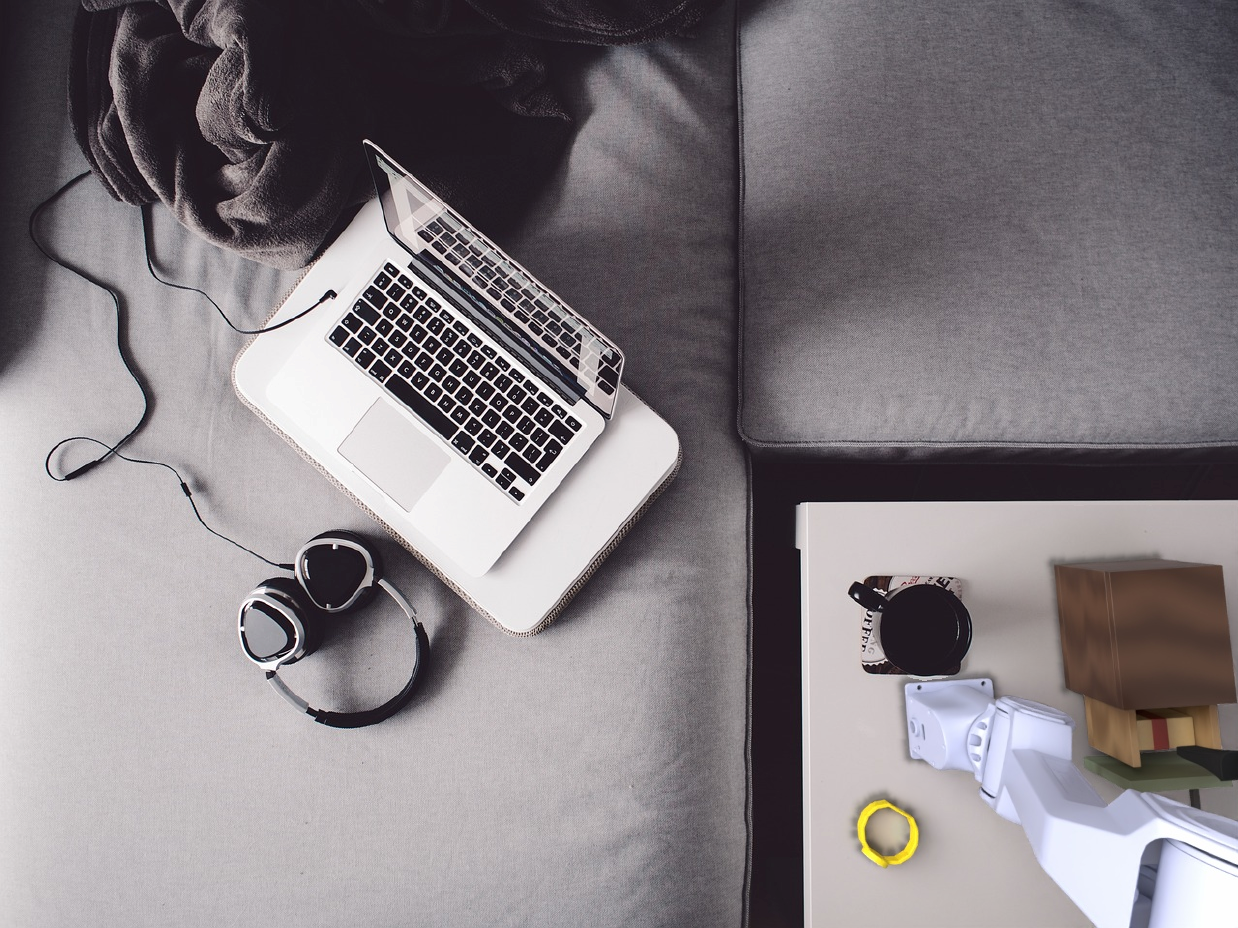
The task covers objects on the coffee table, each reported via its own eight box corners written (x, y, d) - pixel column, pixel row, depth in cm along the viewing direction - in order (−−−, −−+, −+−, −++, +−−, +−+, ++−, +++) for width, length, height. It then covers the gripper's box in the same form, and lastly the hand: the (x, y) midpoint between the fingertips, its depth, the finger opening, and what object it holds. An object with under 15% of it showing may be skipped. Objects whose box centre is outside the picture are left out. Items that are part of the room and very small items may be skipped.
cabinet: (1167, 681, 76) (1237, 703, 67) (1065, 688, 75) (1123, 710, 67) (1155, 558, 76) (1222, 565, 68) (1053, 564, 76) (1109, 572, 68)
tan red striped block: (1102, 740, 73) (1128, 752, 70) (1099, 710, 73) (1125, 720, 70) (1167, 735, 73) (1196, 747, 70) (1164, 706, 73) (1193, 716, 70)
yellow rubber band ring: (871, 787, 75) (843, 836, 74) (881, 795, 72) (851, 846, 71) (920, 821, 74) (891, 870, 73) (931, 830, 72) (902, 881, 71)
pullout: (1181, 802, 74) (1238, 831, 67) (1087, 808, 74) (1135, 838, 67) (1164, 644, 75) (1219, 658, 68) (1072, 650, 75) (1118, 664, 68)
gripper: (1413, 964, 51) (1242, 867, 64) (1386, 762, 52) (1223, 709, 65) (1319, 972, 51) (1168, 873, 64) (1294, 770, 51) (1150, 715, 65)
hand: (1191, 791), depth 65 cm, fingers open, 7 cm apart
